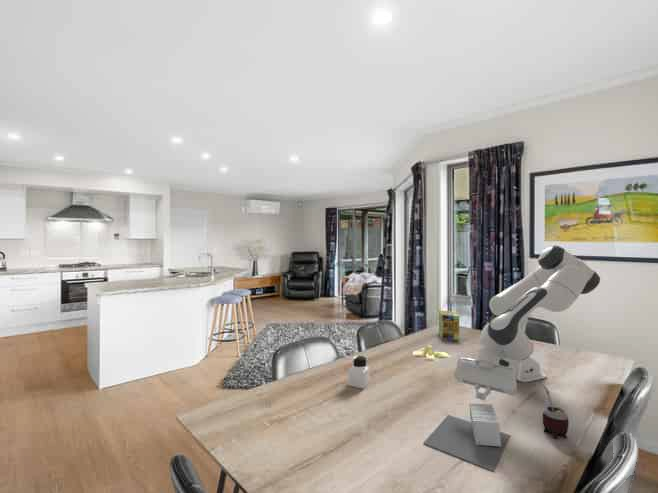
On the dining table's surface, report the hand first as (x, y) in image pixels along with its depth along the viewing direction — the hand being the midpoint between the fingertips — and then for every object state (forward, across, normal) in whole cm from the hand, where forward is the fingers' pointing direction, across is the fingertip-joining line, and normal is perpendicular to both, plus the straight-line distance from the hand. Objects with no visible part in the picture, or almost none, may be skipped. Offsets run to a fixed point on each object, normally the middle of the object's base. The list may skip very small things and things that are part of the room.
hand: (480, 398), depth 117 cm
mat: (+15, 0, -3) cm, 15 cm away
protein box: (-66, -45, +77) cm, 111 cm away
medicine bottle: (+6, -50, +6) cm, 51 cm away
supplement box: (+4, +1, +2) cm, 5 cm away
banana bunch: (-34, -42, +47) cm, 72 cm away
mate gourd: (0, +20, +12) cm, 24 cm away
